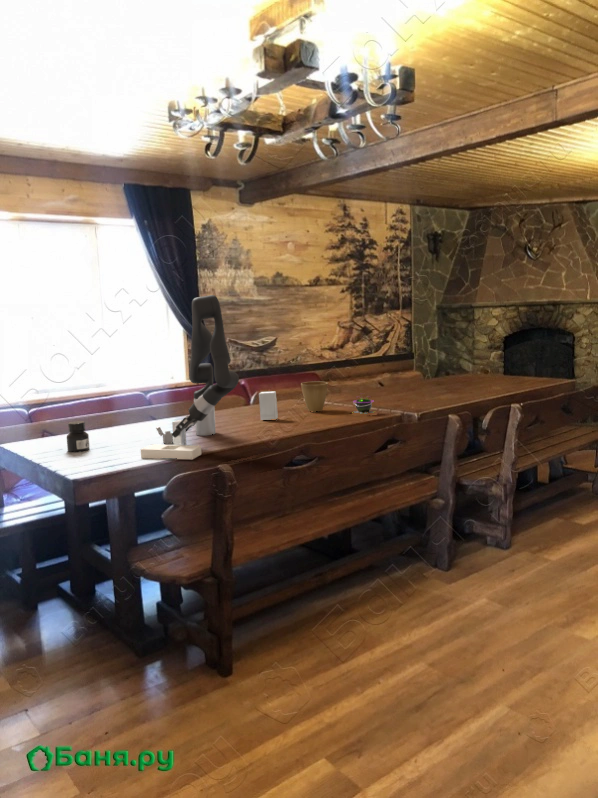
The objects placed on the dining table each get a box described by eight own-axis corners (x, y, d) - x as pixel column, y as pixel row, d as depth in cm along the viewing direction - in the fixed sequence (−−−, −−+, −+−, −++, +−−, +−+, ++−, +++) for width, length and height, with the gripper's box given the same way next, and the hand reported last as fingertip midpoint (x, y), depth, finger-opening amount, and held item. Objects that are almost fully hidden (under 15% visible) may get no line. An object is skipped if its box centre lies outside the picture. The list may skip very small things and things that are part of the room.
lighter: (172, 442, 281) (170, 424, 279) (173, 442, 279) (172, 424, 278) (156, 444, 277) (155, 426, 276) (158, 444, 275) (156, 426, 274)
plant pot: (300, 410, 359) (299, 382, 357) (326, 408, 360) (325, 381, 358) (303, 414, 344) (302, 385, 342) (330, 412, 346) (329, 383, 343)
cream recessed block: (151, 452, 260) (151, 444, 259) (201, 454, 254) (201, 445, 254) (141, 457, 251) (140, 449, 251) (192, 459, 246) (191, 450, 245)
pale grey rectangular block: (179, 447, 268) (177, 419, 266) (186, 447, 267) (185, 420, 266) (173, 450, 263) (172, 422, 262) (181, 450, 262) (180, 422, 261)
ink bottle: (82, 452, 264) (80, 424, 263) (63, 452, 266) (60, 424, 264) (93, 447, 274) (91, 420, 272) (75, 447, 275) (73, 420, 274)
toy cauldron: (344, 415, 337) (344, 394, 336) (358, 411, 350) (358, 391, 348) (369, 417, 329) (369, 396, 327) (382, 413, 341) (382, 392, 339)
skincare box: (278, 419, 331) (277, 391, 329) (275, 421, 325) (274, 392, 323) (262, 419, 333) (261, 391, 331) (259, 421, 327) (258, 392, 325)
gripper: (202, 398, 267) (179, 424, 272) (188, 403, 254) (164, 430, 258) (214, 410, 267) (191, 437, 271) (201, 416, 253) (176, 443, 257)
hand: (178, 434), depth 265 cm, fingers open, 8 cm apart
